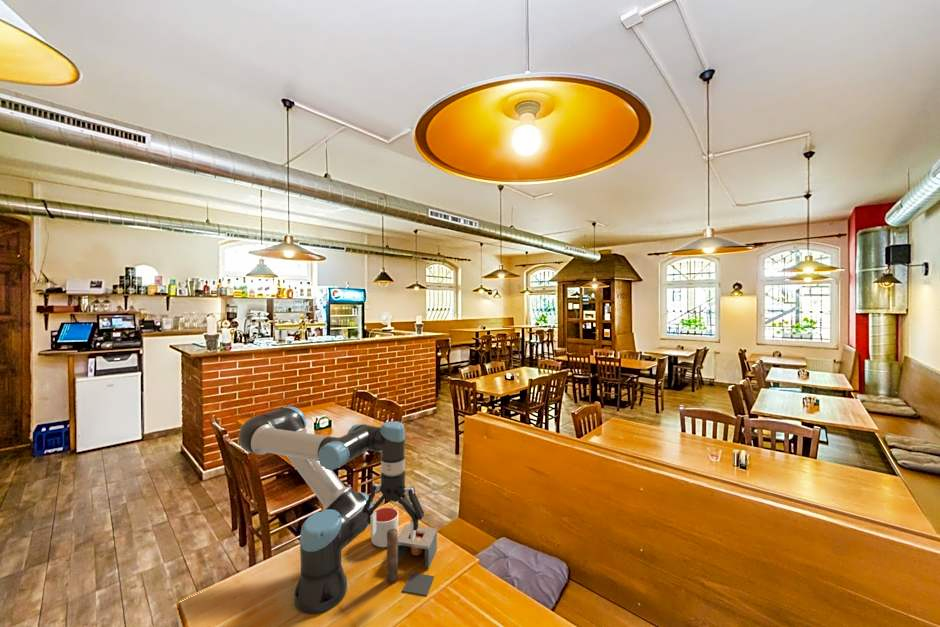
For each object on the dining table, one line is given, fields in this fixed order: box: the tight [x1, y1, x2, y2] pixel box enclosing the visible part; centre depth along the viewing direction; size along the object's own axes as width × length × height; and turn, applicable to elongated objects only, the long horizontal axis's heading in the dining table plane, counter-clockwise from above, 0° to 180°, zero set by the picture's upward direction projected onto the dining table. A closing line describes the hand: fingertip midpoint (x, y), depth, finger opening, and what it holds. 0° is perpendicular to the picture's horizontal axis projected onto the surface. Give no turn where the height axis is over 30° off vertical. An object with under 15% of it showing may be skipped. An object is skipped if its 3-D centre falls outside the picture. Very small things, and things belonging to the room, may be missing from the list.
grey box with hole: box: [398, 524, 438, 570], centre depth 133 cm, size 12×10×8 cm
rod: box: [386, 529, 399, 585], centre depth 122 cm, size 3×3×16 cm
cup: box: [370, 506, 399, 548], centre depth 142 cm, size 10×10×10 cm
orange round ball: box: [410, 536, 423, 556], centre depth 133 cm, size 4×4×4 cm
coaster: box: [401, 572, 435, 597], centre depth 121 cm, size 8×8×1 cm
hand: (393, 536), depth 122 cm, fingers open, 13 cm apart
